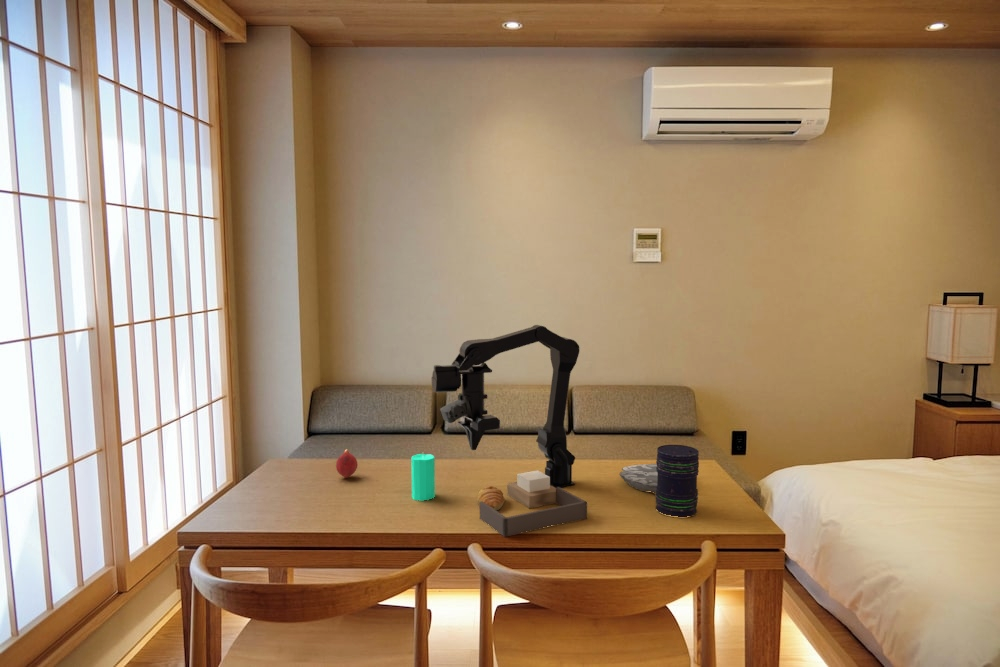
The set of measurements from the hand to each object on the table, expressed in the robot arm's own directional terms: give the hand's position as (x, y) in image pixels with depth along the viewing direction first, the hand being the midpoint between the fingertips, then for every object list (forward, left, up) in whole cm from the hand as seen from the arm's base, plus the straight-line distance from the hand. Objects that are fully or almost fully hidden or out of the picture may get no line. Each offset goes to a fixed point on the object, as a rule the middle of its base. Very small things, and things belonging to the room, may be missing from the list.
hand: (473, 449), depth 175 cm
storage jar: (-37, +34, -12) cm, 52 cm away
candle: (+13, -4, -12) cm, 17 cm away
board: (-11, +11, -11) cm, 20 cm away
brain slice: (-45, +16, -12) cm, 50 cm away
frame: (-4, +22, -11) cm, 26 cm away
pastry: (0, +9, -12) cm, 15 cm away
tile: (-11, +11, -8) cm, 18 cm away
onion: (+26, -28, -12) cm, 39 cm away
